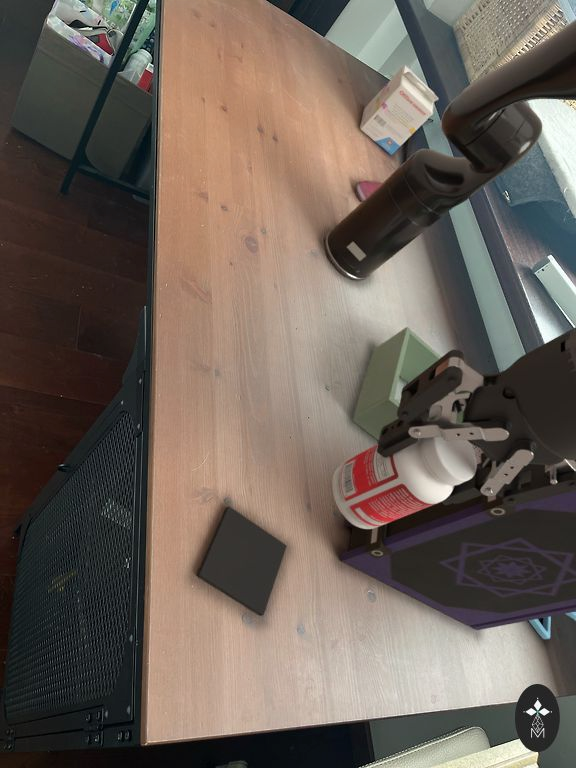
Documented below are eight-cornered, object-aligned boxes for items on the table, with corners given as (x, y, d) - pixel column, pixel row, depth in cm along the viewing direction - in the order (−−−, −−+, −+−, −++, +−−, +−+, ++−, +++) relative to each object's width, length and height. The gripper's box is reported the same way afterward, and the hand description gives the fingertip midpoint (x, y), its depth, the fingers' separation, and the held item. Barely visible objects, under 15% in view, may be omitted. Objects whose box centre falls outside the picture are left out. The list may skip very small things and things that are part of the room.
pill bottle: (393, 515, 55) (494, 475, 48) (352, 542, 51) (457, 502, 43) (360, 452, 56) (455, 403, 49) (317, 474, 52) (414, 423, 44)
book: (475, 586, 83) (713, 526, 62) (476, 633, 79) (729, 587, 58) (342, 513, 74) (568, 416, 53) (335, 563, 70) (576, 478, 50)
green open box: (373, 349, 92) (407, 326, 87) (440, 406, 96) (476, 387, 91) (352, 420, 82) (388, 399, 78) (427, 480, 86) (467, 463, 82)
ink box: (393, 135, 129) (442, 86, 120) (390, 156, 124) (441, 107, 114) (363, 108, 126) (411, 56, 117) (358, 128, 120) (408, 76, 111)
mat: (225, 507, 65) (228, 505, 64) (283, 546, 67) (287, 545, 66) (196, 576, 59) (199, 574, 59) (260, 616, 61) (263, 615, 61)
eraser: (360, 204, 108) (367, 197, 107) (351, 184, 109) (358, 178, 108) (399, 208, 116) (406, 202, 115) (391, 190, 117) (397, 184, 116)
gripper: (672, 403, 42) (476, 482, 54) (537, 267, 38) (355, 384, 49) (690, 491, 37) (469, 557, 49) (535, 346, 33) (334, 455, 44)
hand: (412, 469), depth 49 cm, fingers closed on pill bottle, 6 cm apart
